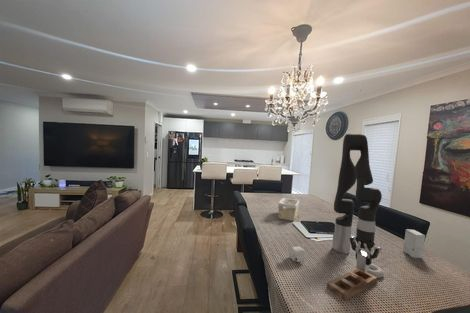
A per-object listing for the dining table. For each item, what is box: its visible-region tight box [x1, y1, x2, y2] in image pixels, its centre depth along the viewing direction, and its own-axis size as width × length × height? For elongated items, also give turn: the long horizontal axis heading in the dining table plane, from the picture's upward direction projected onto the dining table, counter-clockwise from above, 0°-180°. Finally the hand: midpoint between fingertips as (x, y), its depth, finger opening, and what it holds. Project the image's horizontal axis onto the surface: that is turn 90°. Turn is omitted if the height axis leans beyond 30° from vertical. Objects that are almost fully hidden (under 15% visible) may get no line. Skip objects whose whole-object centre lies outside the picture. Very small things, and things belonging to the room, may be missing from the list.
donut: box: [367, 263, 385, 279], centre depth 109 cm, size 10×4×10 cm
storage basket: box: [277, 197, 300, 222], centre depth 191 cm, size 24×16×15 cm
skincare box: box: [402, 228, 426, 259], centre depth 129 cm, size 8×6×15 cm
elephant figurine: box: [287, 243, 307, 263], centre depth 118 cm, size 10×12×9 cm
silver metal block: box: [355, 249, 370, 273], centre depth 101 cm, size 4×4×8 cm
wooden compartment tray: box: [326, 268, 378, 302], centre depth 98 cm, size 9×26×3 cm, turn 121°
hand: (363, 262), depth 101 cm, fingers closed on silver metal block, 4 cm apart
